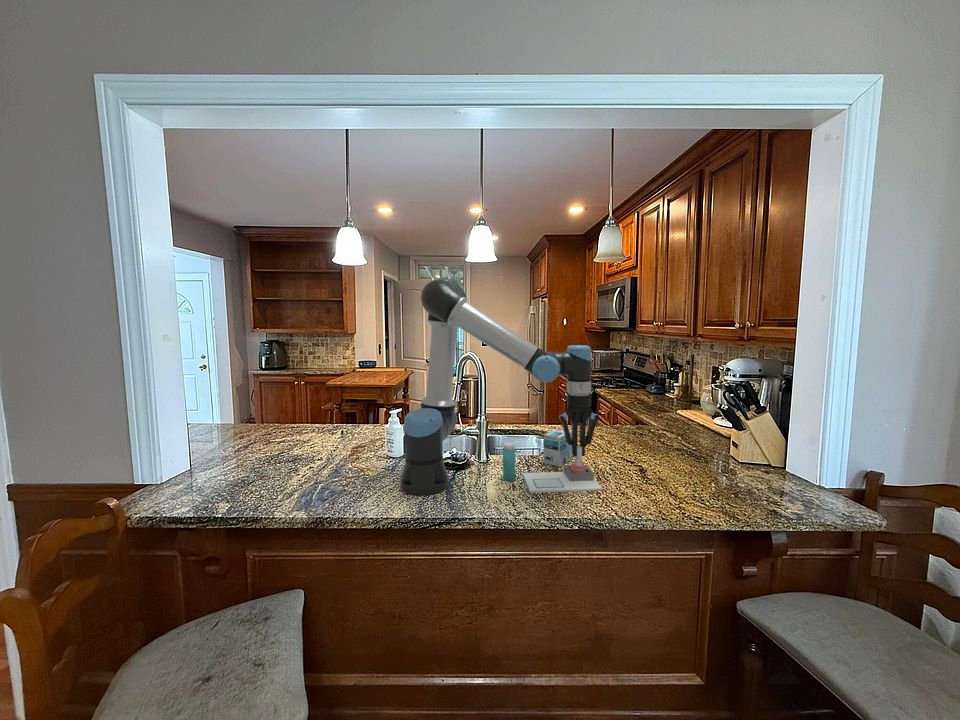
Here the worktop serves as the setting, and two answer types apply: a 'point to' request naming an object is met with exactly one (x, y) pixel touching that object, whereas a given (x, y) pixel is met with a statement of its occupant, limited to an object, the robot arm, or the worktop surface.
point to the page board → (561, 481)
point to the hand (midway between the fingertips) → (578, 465)
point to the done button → (577, 468)
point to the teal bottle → (509, 461)
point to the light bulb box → (557, 448)
